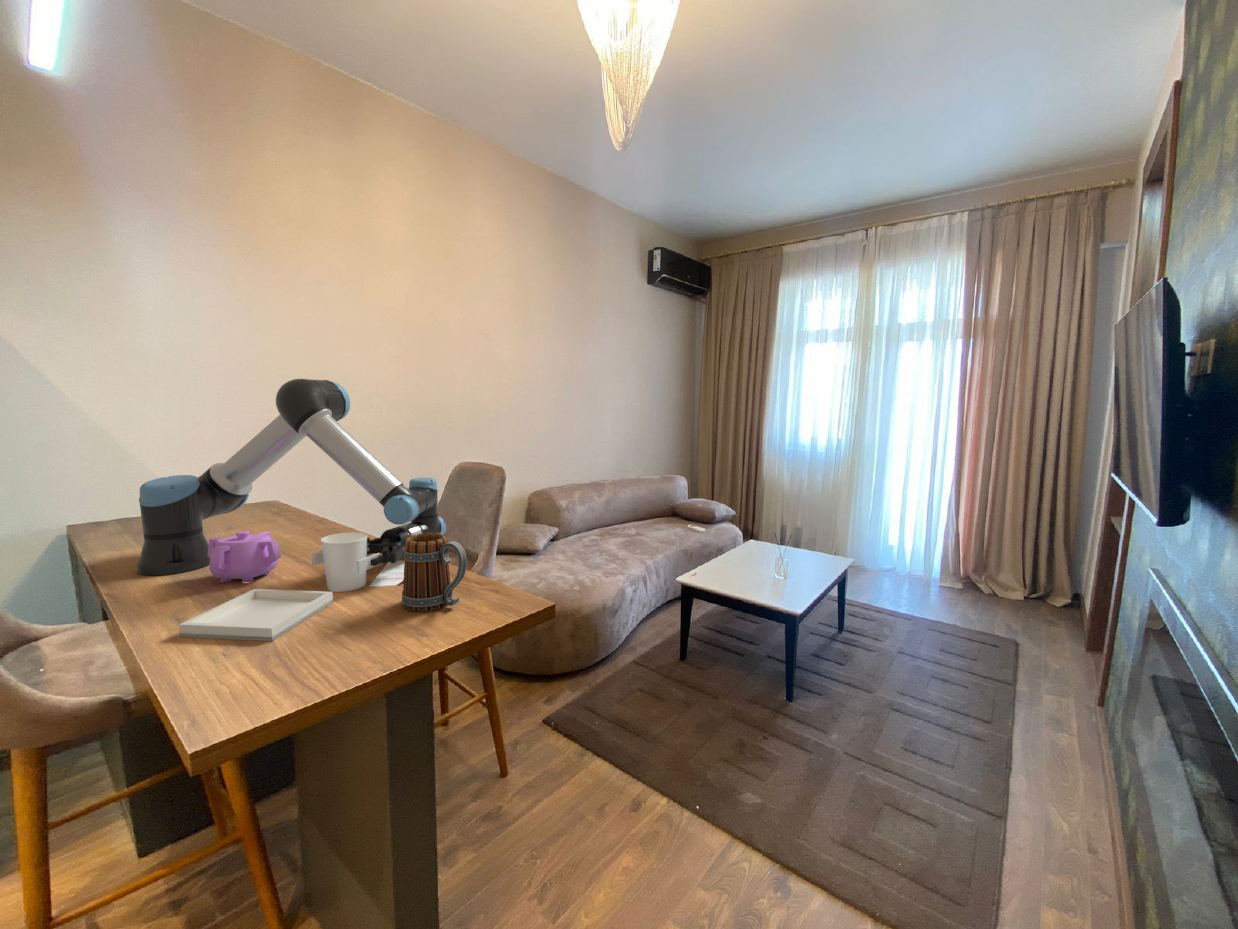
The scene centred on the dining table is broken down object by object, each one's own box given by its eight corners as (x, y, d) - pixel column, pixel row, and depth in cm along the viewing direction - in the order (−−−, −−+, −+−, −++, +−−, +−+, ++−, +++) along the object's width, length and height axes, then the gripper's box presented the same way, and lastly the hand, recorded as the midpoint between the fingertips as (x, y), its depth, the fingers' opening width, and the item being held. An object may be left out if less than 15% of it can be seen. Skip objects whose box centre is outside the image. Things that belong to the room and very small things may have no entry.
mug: (391, 608, 108) (388, 540, 106) (426, 591, 118) (424, 529, 116) (448, 620, 102) (446, 549, 100) (481, 602, 112) (479, 537, 110)
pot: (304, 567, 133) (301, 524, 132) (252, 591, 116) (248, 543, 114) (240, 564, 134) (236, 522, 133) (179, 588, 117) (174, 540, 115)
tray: (180, 637, 93) (179, 624, 93) (255, 599, 111) (254, 588, 111) (272, 641, 92) (271, 628, 92) (333, 602, 110) (332, 591, 110)
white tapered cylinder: (337, 596, 114) (335, 545, 112) (315, 587, 119) (312, 538, 117) (378, 583, 122) (376, 536, 120) (355, 576, 127) (353, 530, 126)
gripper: (439, 558, 133) (378, 585, 113) (365, 548, 141) (296, 572, 121) (438, 531, 132) (377, 553, 112) (364, 522, 140) (294, 542, 120)
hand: (335, 563), depth 117 cm, fingers open, 13 cm apart
